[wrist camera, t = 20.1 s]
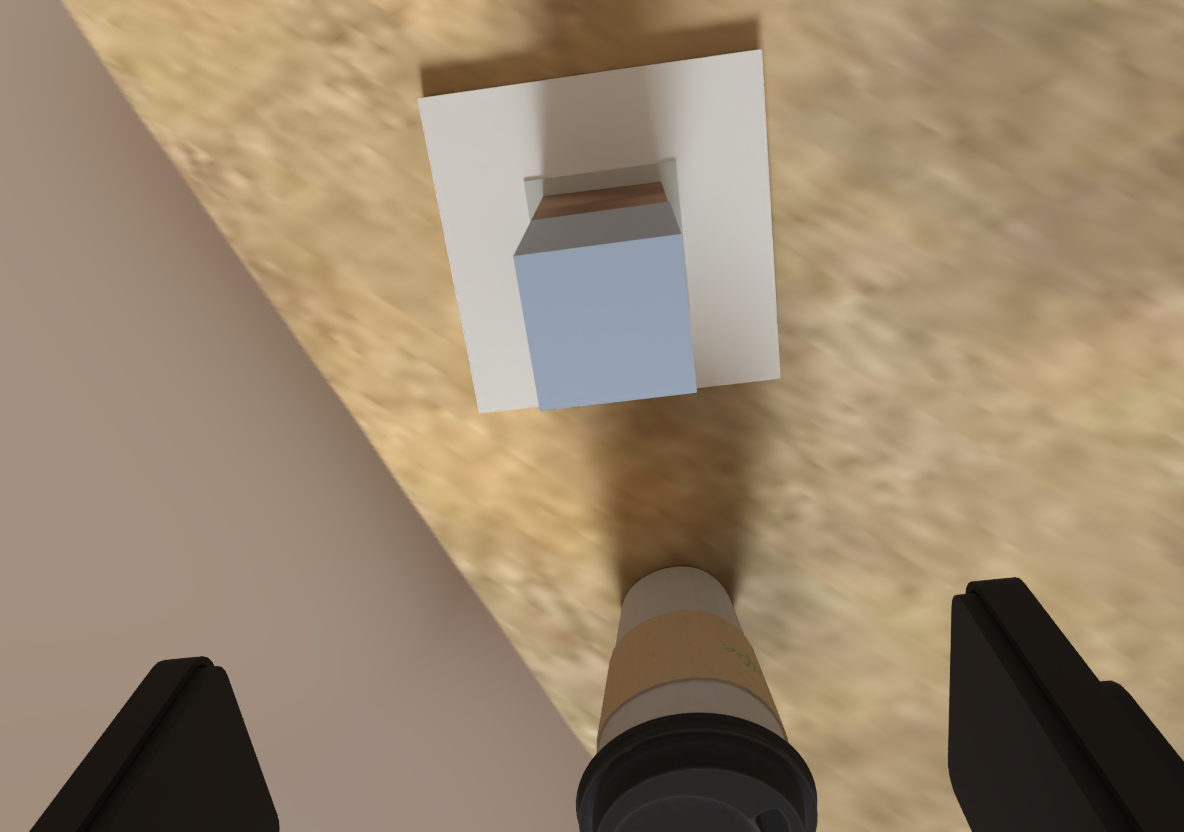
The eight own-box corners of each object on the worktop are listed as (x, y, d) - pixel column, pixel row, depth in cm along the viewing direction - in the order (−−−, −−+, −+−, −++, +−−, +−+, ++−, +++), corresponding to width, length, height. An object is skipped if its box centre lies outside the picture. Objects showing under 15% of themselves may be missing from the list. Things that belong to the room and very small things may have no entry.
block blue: (670, 201, 31) (681, 233, 26) (683, 335, 33) (696, 392, 28) (531, 220, 32) (513, 256, 26) (552, 351, 34) (539, 411, 28)
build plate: (757, 49, 36) (762, 49, 35) (776, 369, 41) (781, 379, 40) (423, 97, 37) (416, 98, 36) (482, 404, 42) (478, 414, 41)
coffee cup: (802, 605, 46) (882, 842, 32) (681, 713, 49) (707, 972, 35) (668, 501, 44) (692, 707, 30) (550, 620, 47) (522, 857, 33)
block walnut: (661, 181, 37) (669, 204, 31) (671, 297, 39) (681, 338, 33) (543, 196, 37) (530, 221, 32) (559, 310, 39) (549, 353, 34)
